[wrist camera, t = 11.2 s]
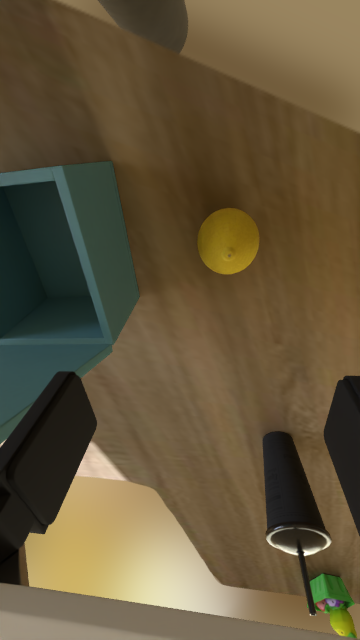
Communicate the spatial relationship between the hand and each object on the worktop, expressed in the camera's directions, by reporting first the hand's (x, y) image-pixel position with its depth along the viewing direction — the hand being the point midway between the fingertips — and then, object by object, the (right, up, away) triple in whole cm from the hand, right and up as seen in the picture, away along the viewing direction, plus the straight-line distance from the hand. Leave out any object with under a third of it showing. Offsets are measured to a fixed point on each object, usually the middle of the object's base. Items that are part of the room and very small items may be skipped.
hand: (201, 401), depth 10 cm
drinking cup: (+16, -17, +35) cm, 42 cm away
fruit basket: (+40, -69, +64) cm, 102 cm away
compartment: (-13, +12, +20) cm, 27 cm away
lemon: (+4, +12, +18) cm, 22 cm away
